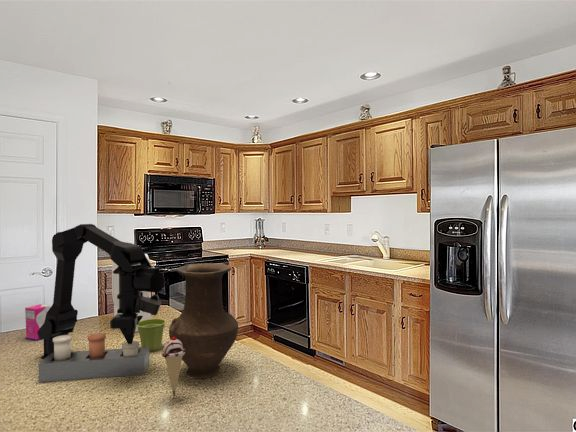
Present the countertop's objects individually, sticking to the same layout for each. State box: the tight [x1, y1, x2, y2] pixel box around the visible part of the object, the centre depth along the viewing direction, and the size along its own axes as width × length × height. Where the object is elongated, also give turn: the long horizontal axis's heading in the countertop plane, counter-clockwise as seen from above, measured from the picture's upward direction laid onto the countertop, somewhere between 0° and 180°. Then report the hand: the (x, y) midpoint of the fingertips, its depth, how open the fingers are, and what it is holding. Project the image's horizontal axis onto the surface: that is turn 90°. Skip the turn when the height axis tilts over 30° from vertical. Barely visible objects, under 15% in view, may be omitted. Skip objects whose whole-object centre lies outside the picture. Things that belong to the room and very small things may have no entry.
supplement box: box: [24, 303, 51, 342], centre depth 140 cm, size 6×6×12 cm
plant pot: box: [136, 318, 167, 352], centre depth 129 cm, size 9×9×9 cm
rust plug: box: [87, 332, 107, 358], centre depth 110 cm, size 5×5×6 cm
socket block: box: [37, 346, 150, 383], centre depth 110 cm, size 27×8×5 cm, turn 100°
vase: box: [168, 263, 239, 379], centre depth 110 cm, size 19×19×30 cm
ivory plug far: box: [121, 340, 140, 356], centre depth 111 cm, size 5×5×6 cm
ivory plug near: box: [53, 334, 73, 361], centre depth 108 cm, size 5×5×6 cm
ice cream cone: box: [161, 337, 186, 397], centre depth 95 cm, size 6×6×15 cm
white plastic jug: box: [111, 253, 152, 333], centre depth 153 cm, size 27×11×30 cm, turn 43°
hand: (130, 343), depth 111 cm, fingers closed, pressing on ivory plug far
